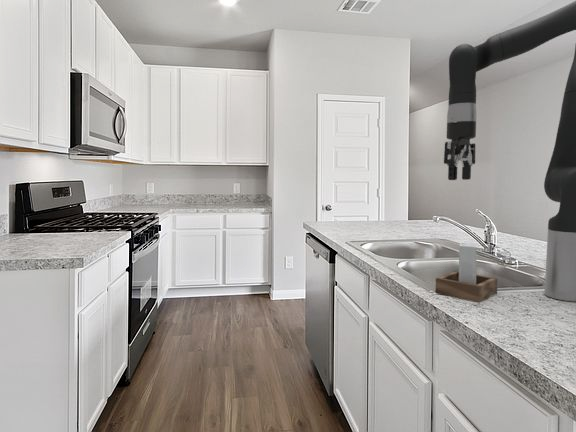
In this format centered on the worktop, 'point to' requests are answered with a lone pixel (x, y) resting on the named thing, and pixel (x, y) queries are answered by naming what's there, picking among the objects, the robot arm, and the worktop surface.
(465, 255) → the skincare box
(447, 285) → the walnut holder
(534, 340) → the worktop surface
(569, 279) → the robot arm
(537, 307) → the worktop surface
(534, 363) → the worktop surface
